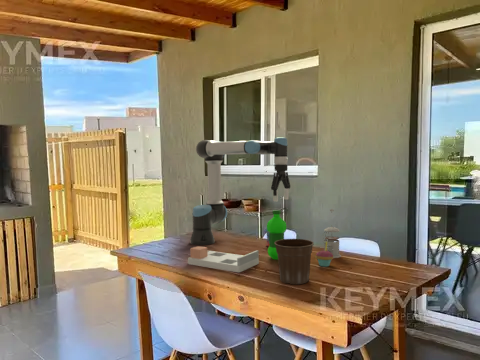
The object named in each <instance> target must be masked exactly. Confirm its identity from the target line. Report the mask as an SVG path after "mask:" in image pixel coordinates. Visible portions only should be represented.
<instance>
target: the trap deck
mask: <svg viewBox="0 0 480 360" xmlns="http://www.w3.org/2000/svg"><path fill="white" fill-rule="evenodd" d="M207 252H208V256H207V257H204V258H201V259H197V258H191V256H190V257H187V265H190V266H191V265H192V266H197V267H198V266H199V267H204V268H210V269H216V270H222V271H228V272H234V273H242V272H244V271H247V270H249V269H250V268H252V267H255V266H256V265H259V263H260V262H259V261H260V260H259V259H260V256H259V254H260V251H259V250H254V251H251V252H250V253H246V254H245V255H242V254H237V253H235V254H234V253H230V252H229V253H227V252H221V251H214V250H207Z"/></svg>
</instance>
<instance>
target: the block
mask: <svg viewBox="0 0 480 360" xmlns="http://www.w3.org/2000/svg"><path fill="white" fill-rule="evenodd" d="M189 251H190V257H191V258H197V259H201V258H204V257H207V256H208V252H207V251H208V247H205V246H201V245H196V246H193V247H191V248H190V250H189Z"/></svg>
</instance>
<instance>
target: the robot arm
mask: <svg viewBox="0 0 480 360" xmlns="http://www.w3.org/2000/svg"><path fill="white" fill-rule="evenodd" d="M195 151H196V154H197V155H198V156H199V157H200V158H202V159H204V162H205V163H206V164H207V193H208V194H207V195H208V196H207V197H208V198H207V199H208V200H207V201H206V204H200V205H199V204H198V205H195V206H194V207H193V208H192V233H191V236H190V239H189V240H190V241H189V242H190V245H193V246H207V245H213V244H215V237H214V233H213V230H212V229H213V227H212V225H214V224H220V223H222V222H224V221H225V220H226V219H227V216H228V209H227V208H226V206H225V202H224V201H223V200H222V170H221V166H222V165H221V164H222V163H223V161H224V157H225V155H273V156H274V162H273V163H274V171H275V172H273V178H272V182H271V185H270V186H271V187H270V188H271V191H272V192H273V194H272V198H273V199H272V201H273V202H276V203H277V202H279V189H278V188H279V185H280V183H281V182H282V185H283V200H287V201H288V200H289V198H290V197H289V194H290V193H289V191H290V190H289V189H291V183H290V178H289V173H288V161H289V158H288V139H287V137H284V136H283V137H280V136H279V137H275V138H274V140H273V141H264V140H263V141H262V140H255V139H251V140H239V141H234V140H233V141H219V140H212V139H211V140H208V139H204V140H200V141H199V142H197V144H196V147H195Z"/></svg>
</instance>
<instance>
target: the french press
mask: <svg viewBox="0 0 480 360" xmlns="http://www.w3.org/2000/svg"><path fill="white" fill-rule="evenodd" d="M329 211H330V212H334V211H335V210H334V209H333V208H331V209H329ZM323 231H324V232H323V234H322V236H324V239H323V240H322V242H323V244H324V246H323V247H324V249H323V251H325V247H326V241H327V251H329V252H331V253H332V254H333V259H338V258H341V257H342V255H341V254H340V239H339V237H338V236H333V235H329V233H339V232H340V229H339V228H337V227H335V226H334V227H333V226H330V227H326V228H325V229H323ZM324 234H325V235H324ZM326 235H328V236H326Z"/></svg>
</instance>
